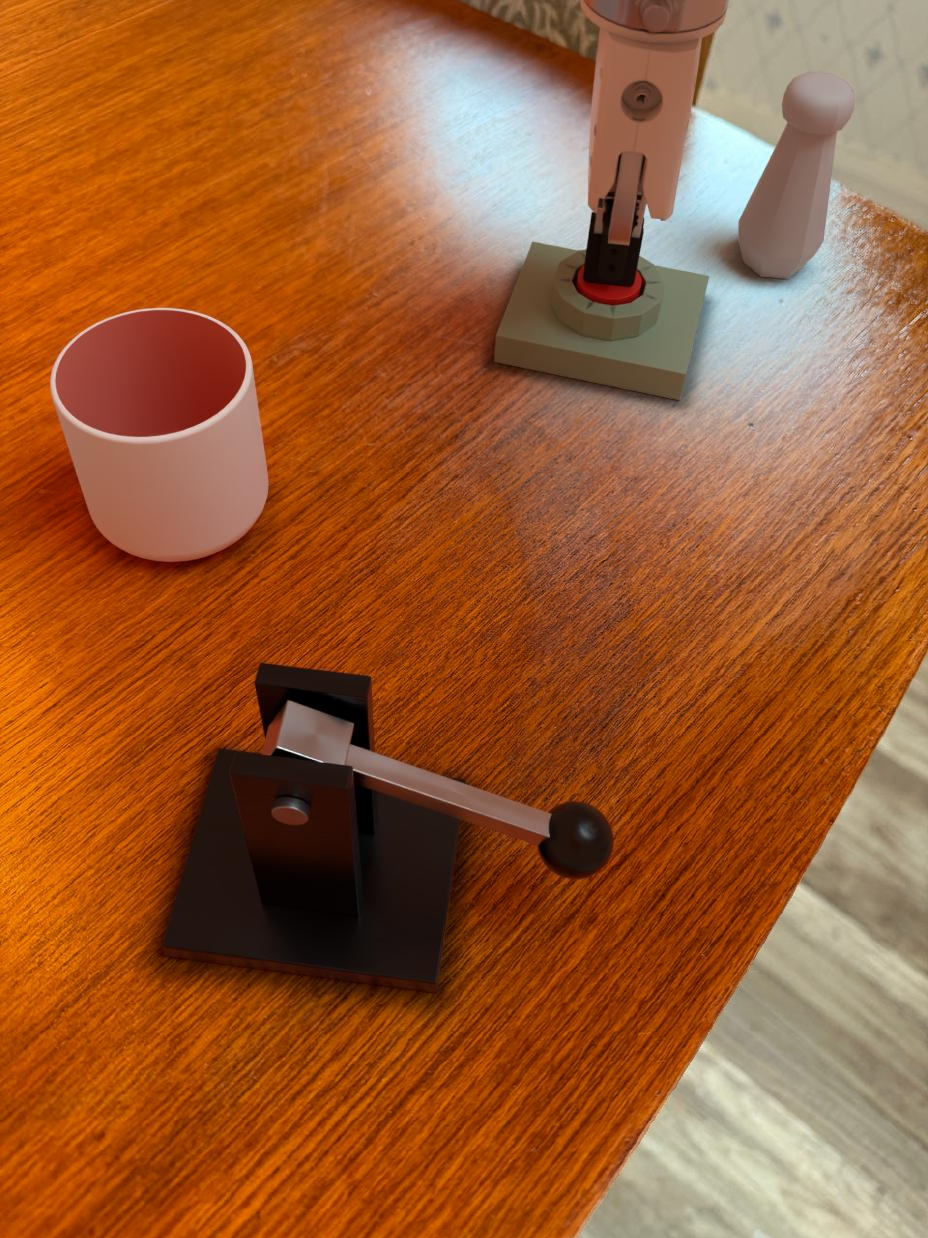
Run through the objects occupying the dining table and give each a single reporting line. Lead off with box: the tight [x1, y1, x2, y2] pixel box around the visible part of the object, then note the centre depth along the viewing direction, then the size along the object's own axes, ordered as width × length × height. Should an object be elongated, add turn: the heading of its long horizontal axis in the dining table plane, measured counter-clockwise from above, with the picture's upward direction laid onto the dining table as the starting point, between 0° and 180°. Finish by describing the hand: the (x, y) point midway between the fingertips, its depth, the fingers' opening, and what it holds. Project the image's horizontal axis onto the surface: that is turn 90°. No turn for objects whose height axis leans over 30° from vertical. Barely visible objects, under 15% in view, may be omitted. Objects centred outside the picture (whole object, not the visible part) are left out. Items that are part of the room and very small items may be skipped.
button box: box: [493, 241, 710, 401], centre depth 77 cm, size 12×10×4 cm
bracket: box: [161, 662, 467, 993], centre depth 50 cm, size 12×10×13 cm
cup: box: [49, 307, 269, 563], centre depth 64 cm, size 10×10×10 cm
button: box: [576, 266, 642, 306], centre depth 76 cm, size 4×4×2 cm
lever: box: [261, 700, 615, 880], centre depth 48 cm, size 15×3×3 cm, turn 83°
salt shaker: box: [737, 70, 856, 280], centre depth 78 cm, size 6×6×13 cm
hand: (608, 276), depth 75 cm, fingers closed
